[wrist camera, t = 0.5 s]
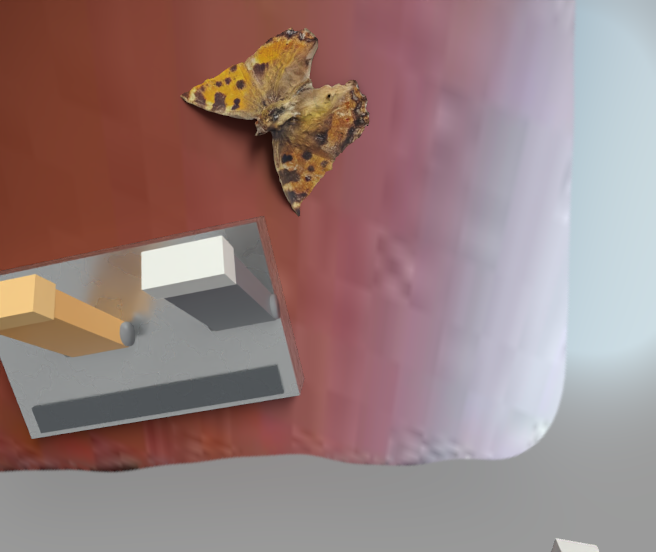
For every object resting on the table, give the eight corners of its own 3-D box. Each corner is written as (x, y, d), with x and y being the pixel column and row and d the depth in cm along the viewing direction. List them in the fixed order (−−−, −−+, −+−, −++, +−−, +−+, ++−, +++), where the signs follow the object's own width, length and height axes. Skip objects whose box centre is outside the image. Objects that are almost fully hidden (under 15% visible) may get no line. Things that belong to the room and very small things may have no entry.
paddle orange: (75, 333, 38) (-40, 289, 29) (135, 322, 37) (37, 273, 28) (74, 362, 37) (-44, 326, 28) (135, 351, 36) (34, 310, 27)
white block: (214, 307, 36) (139, 252, 27) (278, 295, 36) (223, 235, 27) (216, 336, 35) (139, 290, 26) (281, 324, 35) (226, 273, 26)
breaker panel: (-5, 272, 39) (-32, 282, 37) (264, 215, 37) (255, 222, 34) (51, 420, 42) (30, 440, 40) (304, 378, 39) (299, 396, 37)
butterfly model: (310, 224, 37) (304, 233, 34) (174, 88, 36) (156, 85, 33) (404, 131, 35) (407, 131, 32) (264, -18, 34) (254, -32, 31)
